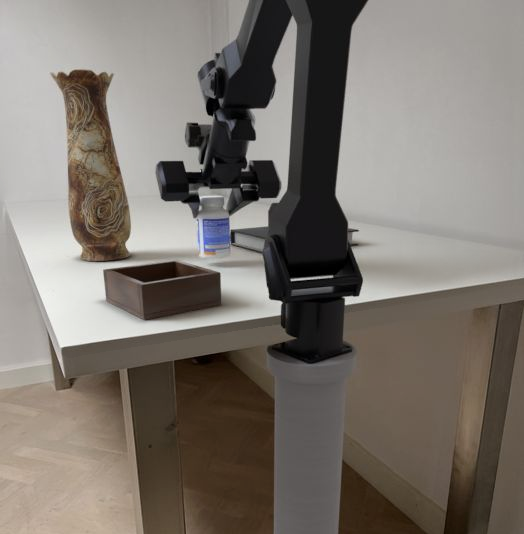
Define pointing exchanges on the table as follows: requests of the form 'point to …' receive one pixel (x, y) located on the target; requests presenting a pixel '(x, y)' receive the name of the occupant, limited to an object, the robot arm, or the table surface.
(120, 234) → the vase
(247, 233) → the book
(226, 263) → the table surface
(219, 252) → the pill bottle
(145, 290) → the box
